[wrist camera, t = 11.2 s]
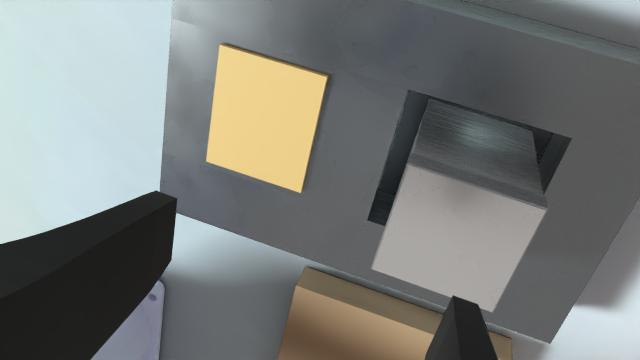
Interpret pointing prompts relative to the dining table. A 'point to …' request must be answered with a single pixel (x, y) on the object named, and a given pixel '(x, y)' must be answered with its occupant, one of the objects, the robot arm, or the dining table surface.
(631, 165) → the rack plate
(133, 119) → the dining table surface
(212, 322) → the dining table surface
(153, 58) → the dining table surface
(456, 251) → the steel peg
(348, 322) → the pad
